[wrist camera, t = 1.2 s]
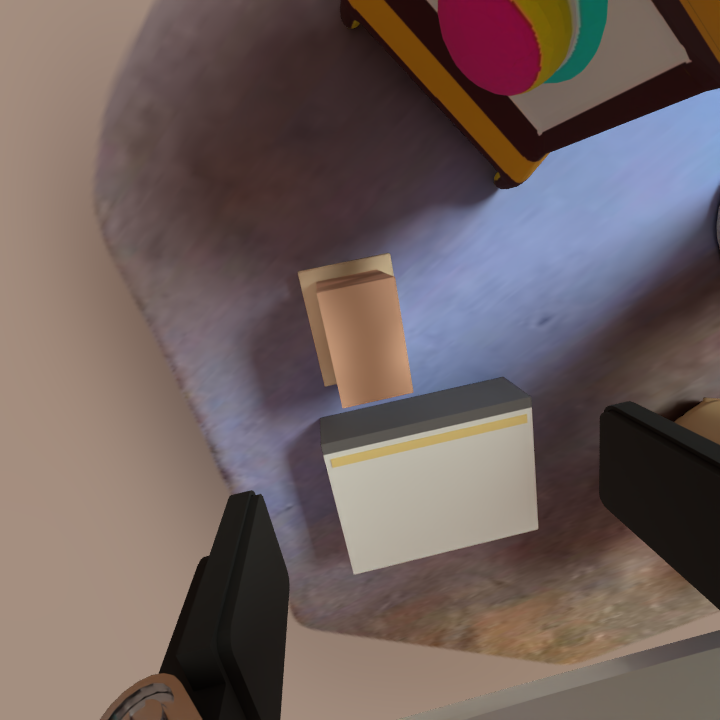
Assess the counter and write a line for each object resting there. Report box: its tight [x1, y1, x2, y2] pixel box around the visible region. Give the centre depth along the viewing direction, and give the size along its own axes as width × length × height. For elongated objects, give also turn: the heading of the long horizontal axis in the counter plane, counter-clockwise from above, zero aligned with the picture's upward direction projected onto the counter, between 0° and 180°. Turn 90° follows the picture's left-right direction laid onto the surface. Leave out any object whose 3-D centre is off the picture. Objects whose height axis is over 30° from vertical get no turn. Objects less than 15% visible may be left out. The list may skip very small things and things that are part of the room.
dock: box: [320, 377, 538, 575], centre depth 36 cm, size 18×14×5 cm
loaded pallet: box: [298, 253, 413, 408], centre depth 29 cm, size 8×10×9 cm
